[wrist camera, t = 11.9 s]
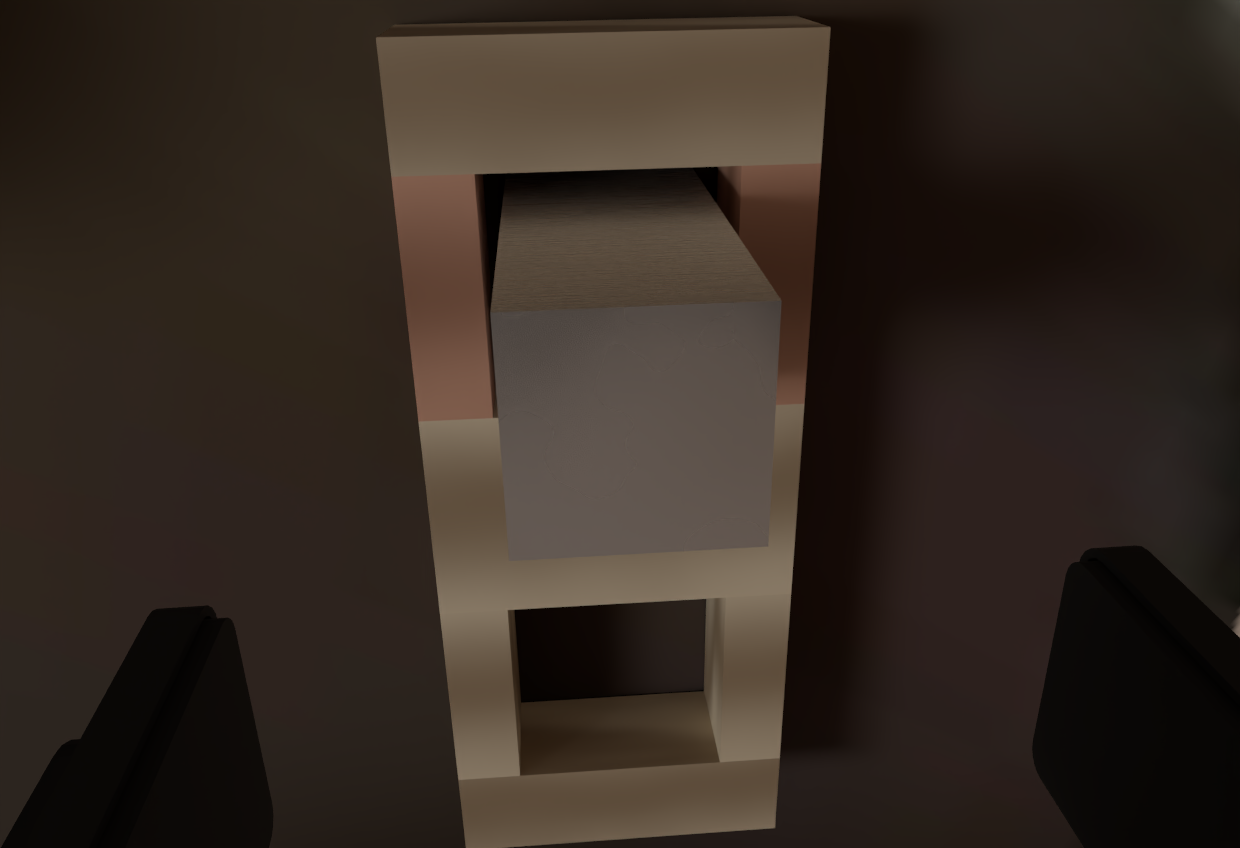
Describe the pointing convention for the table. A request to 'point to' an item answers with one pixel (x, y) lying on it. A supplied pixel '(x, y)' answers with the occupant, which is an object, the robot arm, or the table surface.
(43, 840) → the robot arm
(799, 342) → the block with square holes
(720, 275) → the peg
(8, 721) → the table surface
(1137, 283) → the table surface
